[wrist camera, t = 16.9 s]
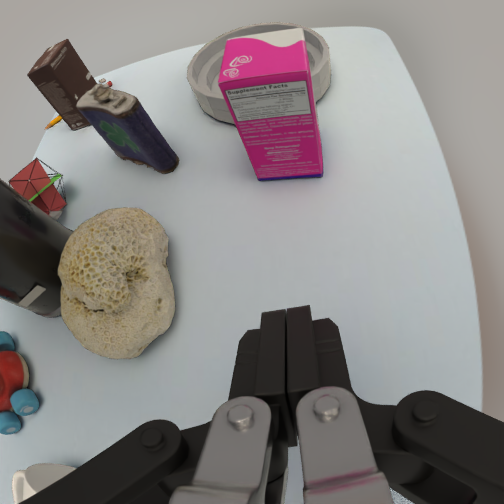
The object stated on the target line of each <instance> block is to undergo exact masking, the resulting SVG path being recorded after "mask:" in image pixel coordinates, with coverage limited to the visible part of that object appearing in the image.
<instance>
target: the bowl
mask: <svg viewBox="0 0 504 504" xmlns="http://www.w3.org/2000/svg"><path fill="white" fill-rule="evenodd" d="M294 28H302V29H303V31H304V36H305V42H306V48H307V53H308V59H309V64H310V70H311V76H312V82H313V89H314V95H315V102H317V101H318V100H319V99H321V98H322V96H323V95H324V93H325V92H326V90H327V88H328V87H329V85H330V79H331V65H330V53H329V47H328V45H327V43H326V42H325V40H324V38H323V37H322V36H320V35H319V34H318V33H316V32H315V31H313V30H311V29H309V28H306V27H303V26H300V25H296V24H289V23H280V22H274V23H260V24H254V25H250V26H245V27H241V28H238V29H235V30H232V31H230V32H228V33H225V34H222V35H221V36H219V37H217V38H215V39H214V40H212V41H210V42H209V43H207V44H206V45H205V46H204V47H203V48H201V49H200V50H199V51H198V52H197V53H196V54H195V55H194V57H193V59H192V60H191V62H190V64H189V65H188V70H187V80H188V82H189V84H190V86H191V88H192V90H193V92H194V94H195V96H196V98H197V100H198V102H199V104H200V106H201V108H202V109H203V111H204V112H206V113H208V114H209V115H211V116H212V117H214V118H215V119H217V120H220V121H225V122H229V123H233V124H235V123H234V120H233V118H232V116H231V113H230V111H229V109H228V106H227V104H226V101H225V99H224V97H223V94H222V92H221V90H220V88H219V86H218V79H219V74H220V70H221V65H222V60H223V55H224V50H225V45H226V41H227V39H231V38H235V37H241V36H247V35H253V34H260V33H267V32H273V31H280V30H287V29H294Z"/></svg>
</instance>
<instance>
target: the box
mask: <svg viewBox="0 0 504 504" xmlns="http://www.w3.org/2000/svg"><path fill="white" fill-rule="evenodd" d="M27 76H28V77H29V78H30V79H31V81H32V82H33V83H34V84H35V86H36V87H37V88H38V89H39V91H40V92H41V93H42V94H43V95H44V97H45V98H46V99H47V100H48V102H49V103H50V104H51V105H52V106H53V108H54V109H55V110H56V111H57V113H58V114H59V115H60V116H61V117H62V119H63V120H64V121H65V122H66V123H67V124H68V126H69V127H70V128H71V129H72V130H77V129H79V128H83V127H85V126H88V125H91V124H90V123H89V121H88V120H87V119H86V118H85V117H84V116H83V114H82V113H81V112H80V111H79V110H78V109H77V107H76V105H77V102H78V101H79V100H80V98H81V97H82V96H83V95H85V94H86V93H87V92H88V91H90V90H92V88H93V87H94V86H95V85H96V84H97V83H96V81H95V80H94V78H93V77H92V75H91V74H90V72H89V71H88V69H87V68H86V66H85V65H84V63H83V62H82V60H81V59H80V57H79V56H78V54H77V53H76V51H75V49H74V48H73V46H72V45H71V43H70V42H69V40H68V39H66V40H64V41H62V42H60V43H58V44H56V45H54V46H52V47H50V48H48V49H47V50H46V51H45V52H44V54H43V55H42V56H41V57H40V58H39V59H38V60H37V62H36V63H35V65H34V66H33V68H32V69H31V70H30V72H29V73H28V74H27Z"/></svg>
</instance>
